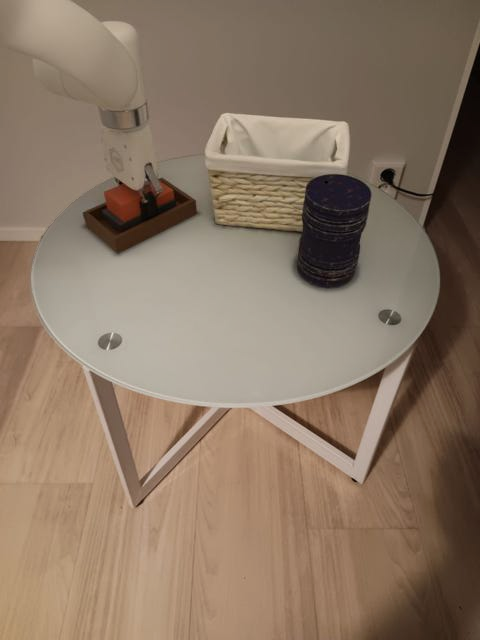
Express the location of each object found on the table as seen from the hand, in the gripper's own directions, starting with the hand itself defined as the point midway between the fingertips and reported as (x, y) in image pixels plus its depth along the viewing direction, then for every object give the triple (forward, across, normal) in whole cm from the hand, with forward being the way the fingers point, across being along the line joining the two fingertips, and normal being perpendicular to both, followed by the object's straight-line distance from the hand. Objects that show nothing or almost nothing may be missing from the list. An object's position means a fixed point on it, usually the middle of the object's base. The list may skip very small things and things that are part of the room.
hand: (139, 209), depth 93 cm
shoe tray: (+3, 0, 0) cm, 3 cm away
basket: (+3, +14, +21) cm, 25 cm away
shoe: (+1, 0, 0) cm, 1 cm away
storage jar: (+3, +32, +15) cm, 35 cm away
